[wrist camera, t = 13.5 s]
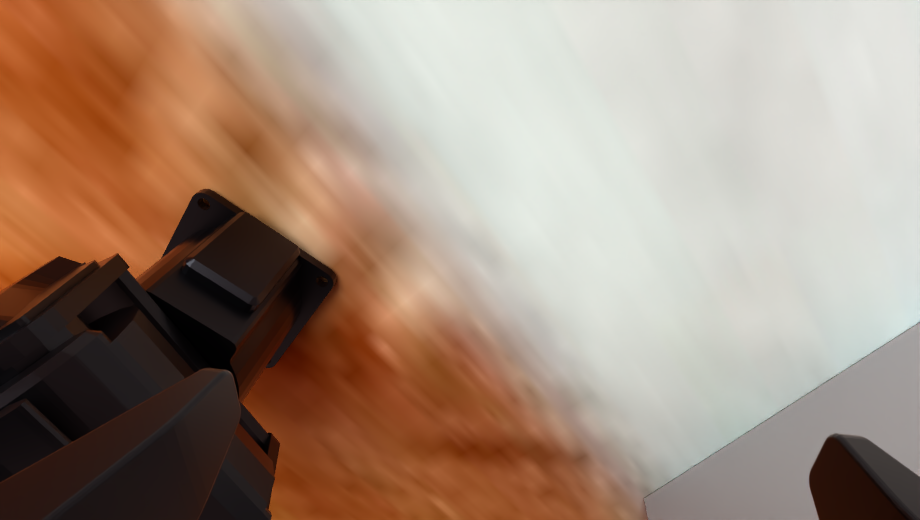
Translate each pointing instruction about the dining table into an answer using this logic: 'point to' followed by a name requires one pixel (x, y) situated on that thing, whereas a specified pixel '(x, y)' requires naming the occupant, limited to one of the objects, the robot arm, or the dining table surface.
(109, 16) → the dining table surface
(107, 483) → the robot arm
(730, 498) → the well block
